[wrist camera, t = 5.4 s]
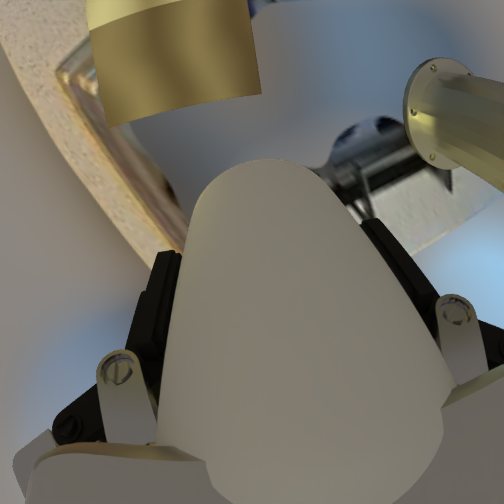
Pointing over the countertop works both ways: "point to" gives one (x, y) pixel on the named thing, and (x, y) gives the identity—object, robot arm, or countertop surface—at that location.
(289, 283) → the can
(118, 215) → the countertop surface
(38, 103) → the countertop surface
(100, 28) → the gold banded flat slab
